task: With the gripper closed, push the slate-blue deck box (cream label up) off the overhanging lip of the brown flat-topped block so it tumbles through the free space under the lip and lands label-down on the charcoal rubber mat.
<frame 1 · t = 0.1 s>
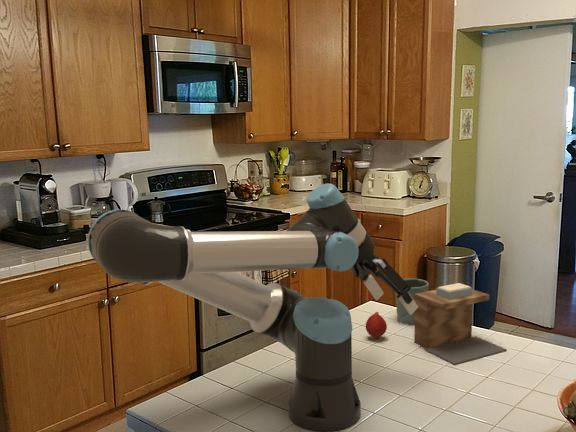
hand: (396, 303, 142), 15 cm above the countertop, tool tilted 35°, fingers open, 13 cm apart
mat: (465, 350, 150), on the countertop
brown flat-topped block: (450, 343, 155), on the countertop
grey-green tapered bin: (411, 321, 175), on the countertop
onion: (376, 339, 160), on the countertop
deck box: (454, 295, 152), point 14 cm above the countertop, touching brown flat-topped block
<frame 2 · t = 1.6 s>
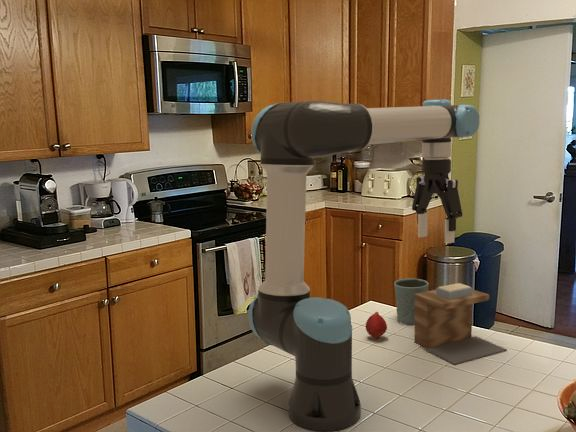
hand: (435, 239, 157), 28 cm above the countertop, tool pointing down, fingers open, 10 cm apart
nothing on the countertop moved.
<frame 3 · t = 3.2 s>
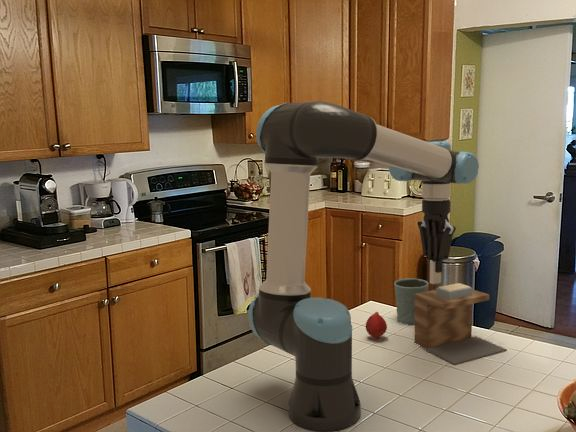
hand: (435, 282, 158), 16 cm above the countertop, tool pointing down, fingers closed
nothing on the countertop moved.
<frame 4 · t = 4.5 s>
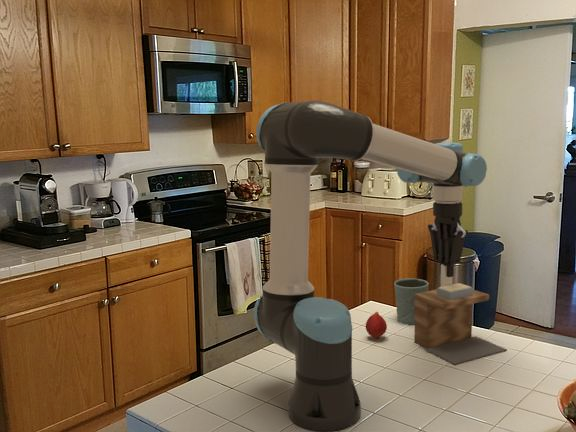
hand: (446, 287, 155), 15 cm above the countertop, tool pointing down, fingers closed
deck box: (454, 295, 152), point 14 cm above the countertop, touching gripper, brown flat-topped block
everything else where it was.
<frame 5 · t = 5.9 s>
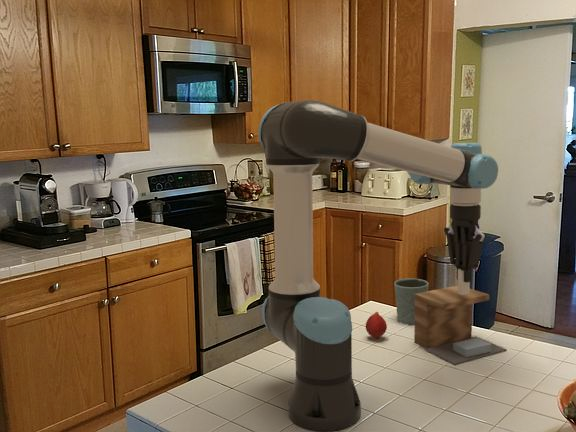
hand: (463, 293, 149), 15 cm above the countertop, tool pointing down, fingers closed
deck box: (472, 343, 148), point 3 cm above the countertop, tilted 180°, touching mat
everything else where it was.
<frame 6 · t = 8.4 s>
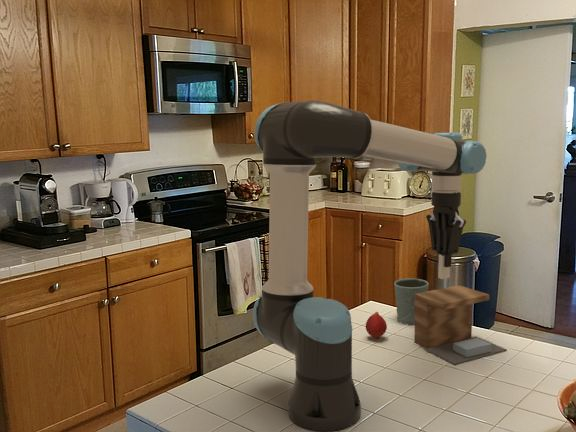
hand: (443, 277, 154), 18 cm above the countertop, tool pointing down, fingers closed
nothing on the countertop moved.
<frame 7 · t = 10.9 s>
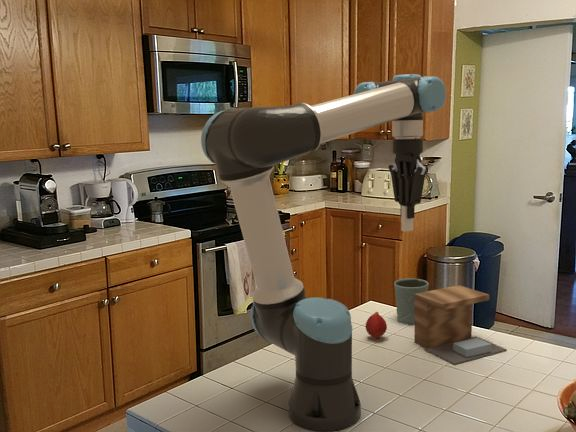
hand: (407, 230, 147), 32 cm above the countertop, tool pointing down, fingers closed
nothing on the countertop moved.
at the end: deck box inside the target area (1.5 cm from its centre), point 2.7 cm above the countertop; deck box tilted 180° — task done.
